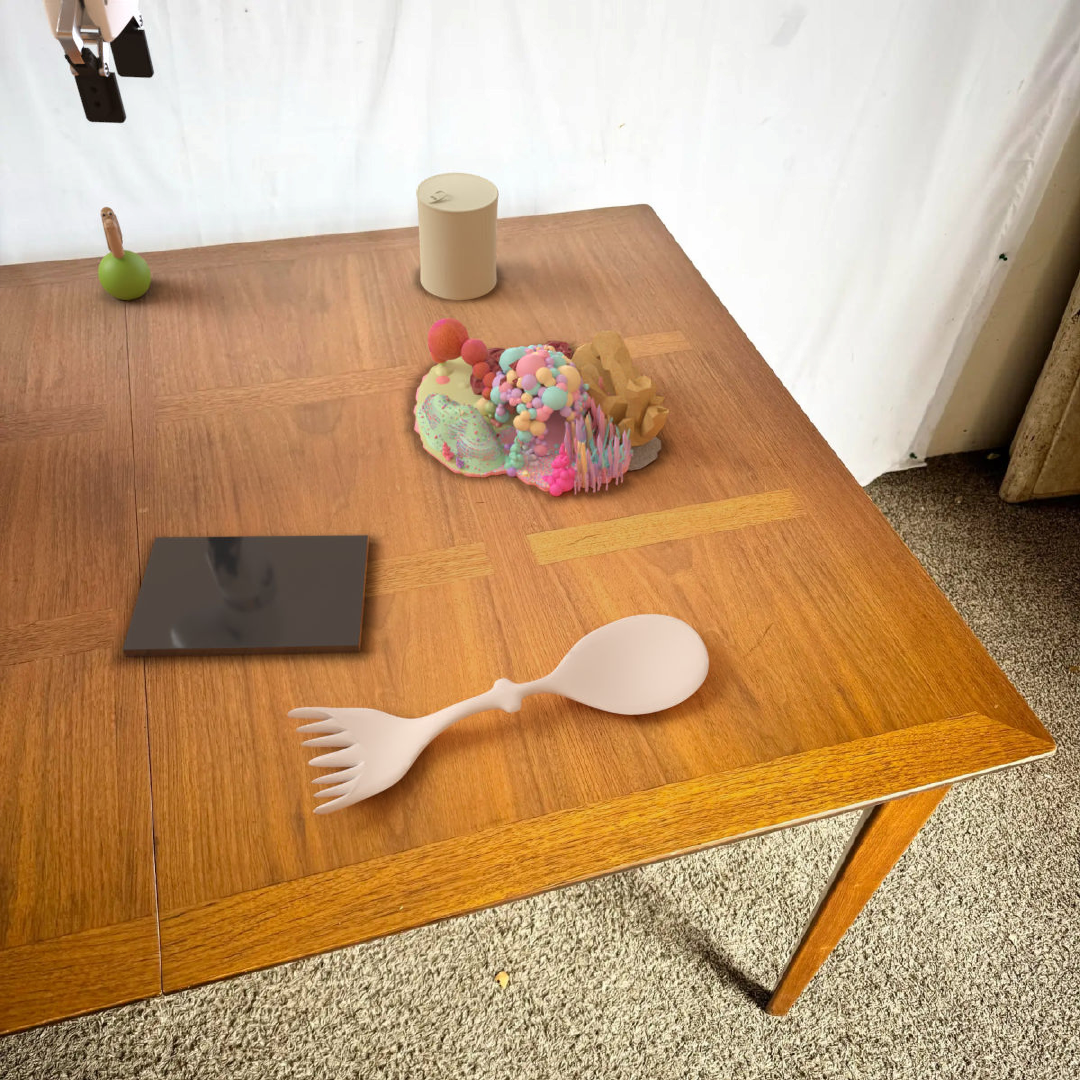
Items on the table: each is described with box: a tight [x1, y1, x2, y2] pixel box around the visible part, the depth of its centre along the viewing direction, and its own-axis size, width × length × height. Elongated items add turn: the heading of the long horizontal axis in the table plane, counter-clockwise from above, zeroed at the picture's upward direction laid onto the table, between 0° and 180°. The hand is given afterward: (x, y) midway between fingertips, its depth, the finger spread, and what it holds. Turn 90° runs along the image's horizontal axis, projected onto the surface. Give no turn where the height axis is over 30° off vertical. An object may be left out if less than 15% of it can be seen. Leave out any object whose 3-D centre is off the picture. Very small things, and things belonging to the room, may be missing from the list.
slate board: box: [122, 534, 370, 658], centre depth 79 cm, size 18×12×2 cm, turn 94°
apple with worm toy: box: [97, 206, 152, 301], centre depth 105 cm, size 5×6×12 cm
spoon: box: [286, 613, 710, 815], centre depth 72 cm, size 9×32×4 cm, turn 112°
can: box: [415, 172, 499, 301], centre depth 110 cm, size 9×9×12 cm
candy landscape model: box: [413, 317, 670, 497], centre depth 94 cm, size 25×24×9 cm
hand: (122, 97), depth 85 cm, fingers open, 9 cm apart
